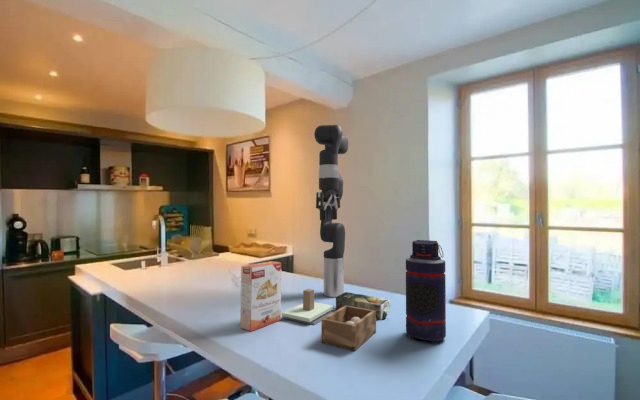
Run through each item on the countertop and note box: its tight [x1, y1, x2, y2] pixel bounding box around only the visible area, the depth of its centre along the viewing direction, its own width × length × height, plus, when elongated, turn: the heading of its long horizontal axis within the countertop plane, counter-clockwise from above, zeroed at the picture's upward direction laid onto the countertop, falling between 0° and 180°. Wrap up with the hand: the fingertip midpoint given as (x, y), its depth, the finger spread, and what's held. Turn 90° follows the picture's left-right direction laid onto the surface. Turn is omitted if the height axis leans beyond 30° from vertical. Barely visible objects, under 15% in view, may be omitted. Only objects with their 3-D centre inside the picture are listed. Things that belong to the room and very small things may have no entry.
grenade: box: [405, 239, 447, 345], centre depth 102 cm, size 14×12×30 cm
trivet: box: [281, 310, 334, 326], centre depth 121 cm, size 14×14×1 cm
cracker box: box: [239, 260, 282, 332], centre depth 112 cm, size 14×6×21 cm, turn 142°
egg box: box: [320, 305, 377, 352], centre depth 101 cm, size 16×11×7 cm
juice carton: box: [335, 291, 391, 320], centre depth 125 cm, size 20×10×6 cm, turn 59°
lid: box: [281, 288, 335, 322], centre depth 121 cm, size 17×12×9 cm
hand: (328, 220), depth 122 cm, fingers open, 8 cm apart
